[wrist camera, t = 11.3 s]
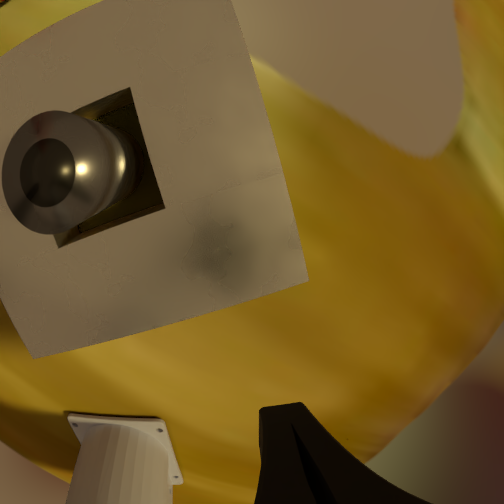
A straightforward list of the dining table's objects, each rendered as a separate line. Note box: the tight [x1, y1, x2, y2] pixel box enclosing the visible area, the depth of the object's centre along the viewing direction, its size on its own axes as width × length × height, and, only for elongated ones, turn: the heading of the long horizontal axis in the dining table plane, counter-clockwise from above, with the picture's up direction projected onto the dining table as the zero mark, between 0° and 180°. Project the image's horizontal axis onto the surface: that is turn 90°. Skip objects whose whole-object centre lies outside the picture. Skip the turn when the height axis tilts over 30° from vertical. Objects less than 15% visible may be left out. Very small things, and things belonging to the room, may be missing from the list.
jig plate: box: [0, 0, 309, 359], centre depth 13 cm, size 16×16×3 cm
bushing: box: [2, 110, 144, 235], centre depth 11 cm, size 4×4×7 cm
